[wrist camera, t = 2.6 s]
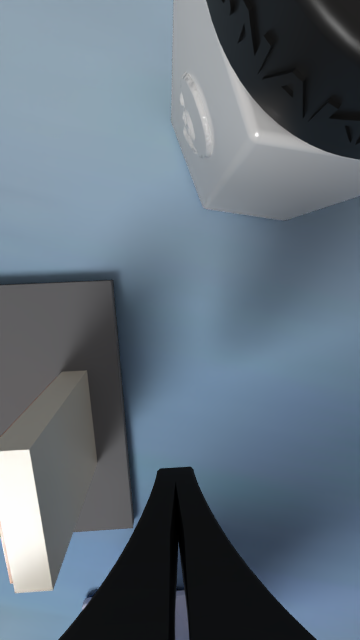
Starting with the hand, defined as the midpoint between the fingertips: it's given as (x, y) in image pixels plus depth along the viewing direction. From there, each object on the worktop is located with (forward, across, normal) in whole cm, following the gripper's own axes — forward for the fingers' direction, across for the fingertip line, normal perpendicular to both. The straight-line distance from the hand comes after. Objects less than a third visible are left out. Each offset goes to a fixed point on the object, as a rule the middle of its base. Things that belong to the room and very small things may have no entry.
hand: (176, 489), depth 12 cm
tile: (+6, +6, 0) cm, 8 cm away
